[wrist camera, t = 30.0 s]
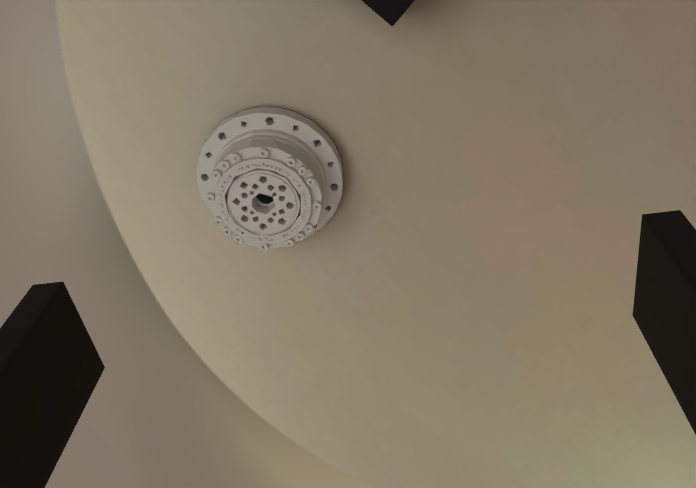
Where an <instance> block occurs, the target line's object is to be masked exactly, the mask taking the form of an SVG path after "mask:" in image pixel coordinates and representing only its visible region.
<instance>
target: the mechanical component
mask: <svg viewBox="0 0 696 488" xmlns="http://www.w3.org/2000/svg"><path fill="white" fill-rule="evenodd" d="M268 117H272V118H273V119H272V118H268ZM223 132H224V133H223ZM316 140H318V141H316ZM197 182H198V188H199V191H200V194H201V196H202V199H203V201H204V203H205V205H206V206H207V208H208V209H209V211H210V212H211V214H212V215H213V217H214V218H215V220H214V223H215V224H216V225H218V226H220V227H221V228H222V229H223V233H224V234H225V235H230V236H232V237H233V238H234V241H235V242H236V243H240V242H241V243H244V244H247V245H251V246H254V247H258V248H260V249H261V250H263V251H265V250H267V249H268V248H280V247H285V246H288V247H291V246H293V244H294V243H296V242H298V241H301V240H304V238H306V237H308V236H310V235H312V234H313V233H315V232H316V231H318V230H319V229H321V228H322V227H324V225H325V224H326V223H327V222H328V221H329V219H330V218H331V217H332V216H333V214H334V213H335V211H336V209H337V206H338V204H339V201H340V199H341V197H342V186H343V169H342V164H341V158H340V156H339V154H338V151H337V149H336V146H335V145H334V143H333V142H332V140H331V139H330V138H329V136H328V135H327V134H326V133H325V132H324V131H323V130H322V129H321V128H319V127H318V126H317V125H316V124H315V123H314V122H313V121H311V120H309V119H308V118H306V117H304V116H302V115H300V114H298V113H296V112H293V111H289V110H286V109H282V108H276V107H257V108H251V109H246V110H243V111H241V112H238V113H236V114H234V115H231V116H229V117H226V118H225V119H224V120H223V121H222V122H221V123H220V124H219V125H218V126H217V127H216V128H215V129H214V130H213V131H212V132H211V133H210V135H209V137H208V138H207V140H206V142H205V143H204V145H203V147H202V150H201V153H200V156H199V159H198V162H197Z"/></svg>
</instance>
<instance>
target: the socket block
mask: <svg viewBox="0 0 696 488" xmlns="http://www.w3.org/2000/svg"><path fill="white" fill-rule="evenodd" d="M362 1H363V2H364V3H365V4H367V5H368V6H369V7H370V8H371V9H372V10H374V11H375V12H376V13H377V14H378V15H379V16H381V17H382V18H383V19H384V20H385V21H386V22H388V23H389V24H390V25H391V26H393V25H394V24H395V23H396V22H397V21H398V20H399V18H400V17H401V16H402V15H403V14H404V12H405V11H406V10H407V9H408V7H409V6H410V5H411V4H412V3H413V1H414V0H362Z"/></svg>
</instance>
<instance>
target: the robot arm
mask: <svg viewBox="0 0 696 488" xmlns="http://www.w3.org/2000/svg"><path fill="white" fill-rule="evenodd" d="M633 317H634V319H635V321H636V323H637V324H638V326H639V328H640V330H641V332H642V334H643V336H644V338H645V340H646V341H647V343H648V345H649V347H650V349H651V351H652V353H653V355H654V357H655V359H656V360H657V362H658V364H659V366H660V368H661V370H662V372H663V374H664V376H665V377H666V379H667V381H668V383H669V385H670V387H671V389H672V391H673V393H674V394H675V396H676V398H677V400H678V402H679V404H680V406H681V408H682V410H683V411H684V413H685V415H686V417H687V419H688V421H689V423H690V425H691V427H692V428H693V430H694V432H695V434H696V230H695V228H694V227H693V226H692V225H691V223H690V222H689V221H688V220H687V218H686V217H685V216H684V215H683V213H682V212H681V211H680V210H678V211H669V212H661V213H652V214H643V215H642V222H641V233H640V244H639V254H638V265H637V276H636V286H635V297H634V308H633ZM104 368H105V367H104V365H103V363H102V361H101V359H100V357H99V355H98V352H97V351H96V349H95V346H94V344H93V342H92V340H91V338H90V336H89V334H88V332H87V330H86V328H85V326H84V324H83V322H82V320H81V318H80V315H79V313H78V311H77V309H76V307H75V305H74V303H73V301H72V299H71V297H70V295H69V293H68V291H67V289H66V287H65V285H64V283H63V282H55V283H47V284H39V285H33V286H32V287H31V288H30V290H29V291H28V292H27V294H26V295H25V296H24V298H23V299H22V300H21V302H20V303H19V304H18V306H17V307H16V308H15V309H14V311H13V312H12V314H11V315H10V316H9V318H8V319H7V320H6V322H5V323H4V324H3V325H2V327H1V328H0V488H45V486H46V484H47V482H48V480H49V478H50V476H51V474H52V472H53V470H54V468H55V466H56V463H57V462H58V460H59V458H60V456H61V454H62V452H63V450H64V448H65V446H66V444H67V442H68V440H69V438H70V436H71V434H72V432H73V430H74V428H75V426H76V424H77V422H78V420H79V418H80V416H81V414H82V412H83V410H84V408H85V406H86V404H87V402H88V400H89V398H90V396H91V394H92V392H93V390H94V388H95V386H96V384H97V382H98V380H99V378H100V376H101V374H102V372H103V370H104Z"/></svg>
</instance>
